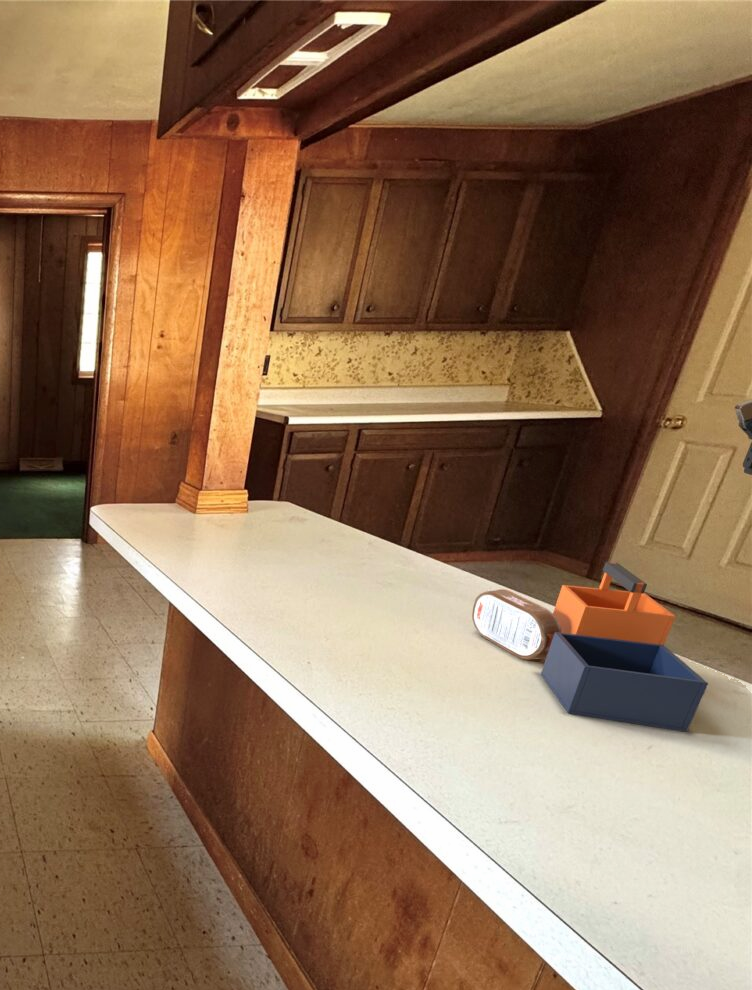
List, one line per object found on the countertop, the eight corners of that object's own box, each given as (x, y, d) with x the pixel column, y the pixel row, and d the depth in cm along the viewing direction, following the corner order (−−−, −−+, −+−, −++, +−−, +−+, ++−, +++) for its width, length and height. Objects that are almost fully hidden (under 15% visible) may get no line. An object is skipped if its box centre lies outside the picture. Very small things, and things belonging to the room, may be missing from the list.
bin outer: (645, 689, 93) (663, 644, 90) (686, 732, 83) (708, 683, 81) (540, 674, 98) (554, 631, 95) (567, 713, 88) (584, 666, 85)
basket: (620, 655, 102) (654, 565, 97) (648, 684, 94) (688, 588, 89) (541, 645, 106) (570, 558, 101) (562, 672, 98) (595, 579, 93)
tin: (554, 668, 99) (572, 617, 96) (533, 669, 99) (550, 618, 96) (481, 627, 113) (494, 582, 110) (462, 628, 113) (475, 582, 110)
